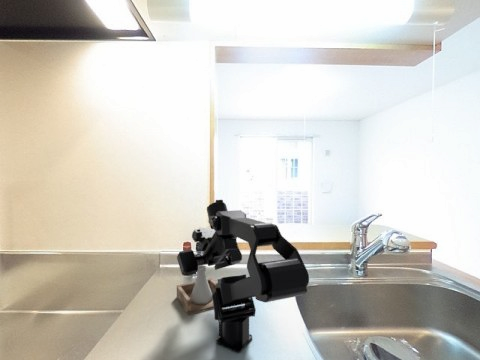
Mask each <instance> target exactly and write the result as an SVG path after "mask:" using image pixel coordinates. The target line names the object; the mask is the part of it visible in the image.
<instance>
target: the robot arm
mask: <svg viewBox="0 0 480 360" xmlns="http://www.w3.org/2000/svg"><path fill="white" fill-rule="evenodd" d="M206 213H207V218H208V224H209V225H210V226H204V227H199V228H197V229H194V230H193V231H192V234H191V238H192V240H193V241H194V243H199V244H200V246H199V249H200V251H201V252H202V255H199V256H196V255H195V252H194V250H193V249H188V250H182V251H179V252H178V254H177V256H176V259H177V264H178V267H179V270H180V274H181V275H182V276H187V277H191V276H193V275H197V271H198V266H201V265H204V266H206V265H207V266H208V267H210V266H214V270H216V271H217V270H219V269H224V268H226V267H230V266H235V265H237V264H240V263H241V262H242V260H243V254H242V252H241V250H240V248H239V245H238V241H237V238H238V239H240V240H243V242H246V243H248V246H249V249H250V251H249V254H248V259H247V263H246V269H247V272H248V277H247V274H246V273H245V274H237V275H231V276H224V277H221V278H219V279H217V282H216V283H217V284H216V288H214V291H213V295H212V299H213V306H214V308H213V313H214V321H218V336H219V337H218V338H217V339H216V341H215V344H217V345H219V346H220V347H221V346H222V347H224V348H226V349H228V350H231V351H233V352H236V353H241V352H242V350H243V349H245V347H246V346H247V344H249V342H250V341H251V340H252V339H253V334H251V333H250V318H251V317H255V316H256V309H257V308H256V305H255V302H254V300H253V298H255V300H256V301H259V302H263V303H270V302H275V301H279V300H286V299H291V298H295V297H301V296H304V295H306V293H307V292H308V287H307V286H308V285H309V283H310V276H309V272H308V269H307V267H306V265H305V263H304V261H303V259H302V256H301V255H300V252H299V251H298V249H297V248H296V247H295V246H294V245H293V244H292V243H291V242H289V241H288V239H286V238H285V237H284V236H283V235H282V233H281V232H280V228H279V227H278V225H277V224H276V223H273V222H264V221H260V220H257V219H253V218H248V217H247V214H246V213H245V211H242V210H238V209H237V210H228V206H227V204H226V203H225V202H224V200H223V199H215V202H212V203H210V204H209V205H208V206H207V207H206ZM266 246H267V247H268V246H272V248H273V249H274V250H275V251H276V253H277V254H279V256H281V257H282V258H283V259H278V260H271V261H270V260H269V261H263V262H258V259H257V256H256V255H257V249H258V248H260V247H266Z"/></svg>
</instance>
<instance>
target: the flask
mask: <svg viewBox="0 0 480 360" xmlns="http://www.w3.org/2000/svg"><path fill="white" fill-rule="evenodd" d="M206 269H207V265H201V266H198V271H197V272H196V279H195V281H194V282H195V285H194V288H193V291H192V294H191V297H190V299H191V302H193V303H196V304H206V303H208V302H209V301H211V300H212V295H213V294H212V292H211V289H210V286H209V284H208V281H207V279H208V278H207V273H206Z"/></svg>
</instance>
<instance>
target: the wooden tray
mask: <svg viewBox="0 0 480 360" xmlns="http://www.w3.org/2000/svg"><path fill="white" fill-rule="evenodd" d="M207 281H208V284H209V286H210V289H211V292H212V294H213V291H214V288H216V284H217V283H218V282H217V281H215V280H214V279H213V278H212V277H211V278H207ZM195 282H196V281H193V282H188V283H184V284H180V285H179V284H178V285H176V298H177V300H178V301H179V302H180V304H181V306H182V307H183V309H184V310H185V312H186V314H187V315H188V316H189V315H194V314H197V313H198V314H199V313H201V312H205V311H208V310H211V309H214V306H213V299H212V300H211V301H209V302H208V303H206V304H196V303H193V302H191V299H190V297H191V294H192V291H193V288H194V285H195Z"/></svg>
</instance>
